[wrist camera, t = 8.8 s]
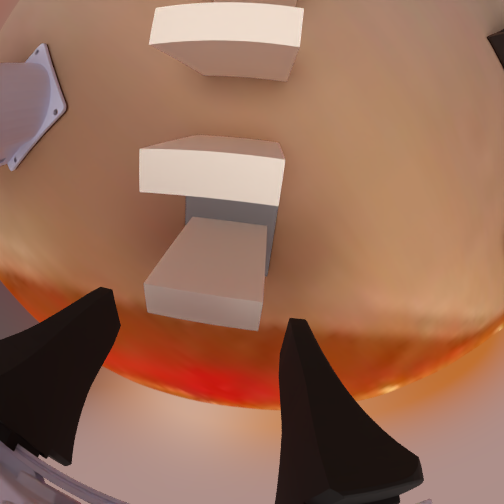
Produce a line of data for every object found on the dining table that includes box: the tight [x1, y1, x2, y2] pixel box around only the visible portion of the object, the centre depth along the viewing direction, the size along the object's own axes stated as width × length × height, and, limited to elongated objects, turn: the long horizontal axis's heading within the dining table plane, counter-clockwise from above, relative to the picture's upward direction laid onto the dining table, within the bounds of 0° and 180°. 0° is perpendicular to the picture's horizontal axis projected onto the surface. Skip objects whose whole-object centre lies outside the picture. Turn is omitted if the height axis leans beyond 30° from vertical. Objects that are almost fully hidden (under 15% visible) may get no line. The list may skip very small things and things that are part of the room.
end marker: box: [185, 196, 278, 276], centre depth 18 cm, size 6×6×1 cm
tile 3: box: [149, 2, 304, 82], centre depth 10 cm, size 2×5×8 cm, turn 84°
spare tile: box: [144, 217, 267, 331], centre depth 15 cm, size 2×5×8 cm, turn 84°
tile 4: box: [139, 135, 285, 206], centre depth 12 cm, size 2×5×8 cm, turn 84°
